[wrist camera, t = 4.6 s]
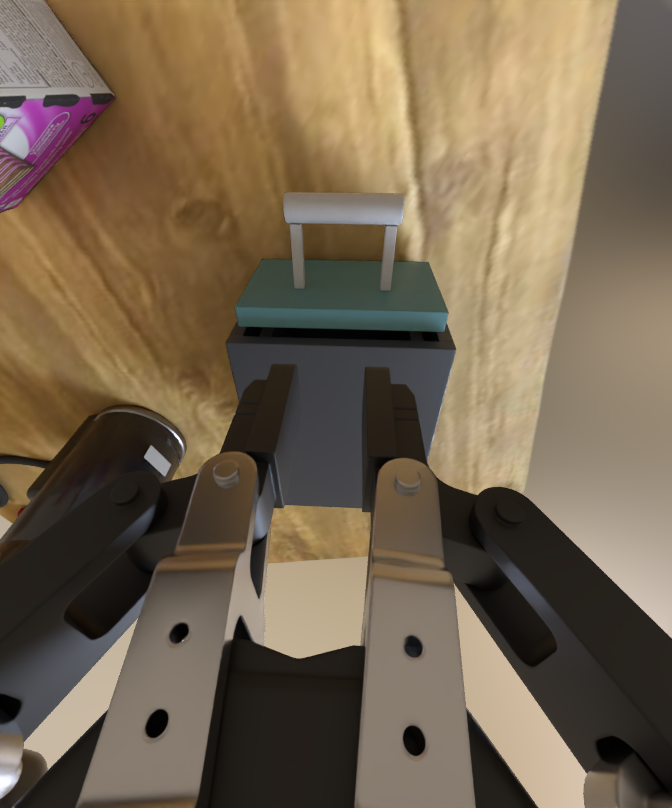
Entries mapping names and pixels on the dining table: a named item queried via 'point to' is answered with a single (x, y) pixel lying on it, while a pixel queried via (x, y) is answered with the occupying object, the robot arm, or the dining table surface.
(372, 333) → the drawer
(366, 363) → the cabinet
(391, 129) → the dining table surface
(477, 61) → the dining table surface
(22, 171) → the candy bar box
